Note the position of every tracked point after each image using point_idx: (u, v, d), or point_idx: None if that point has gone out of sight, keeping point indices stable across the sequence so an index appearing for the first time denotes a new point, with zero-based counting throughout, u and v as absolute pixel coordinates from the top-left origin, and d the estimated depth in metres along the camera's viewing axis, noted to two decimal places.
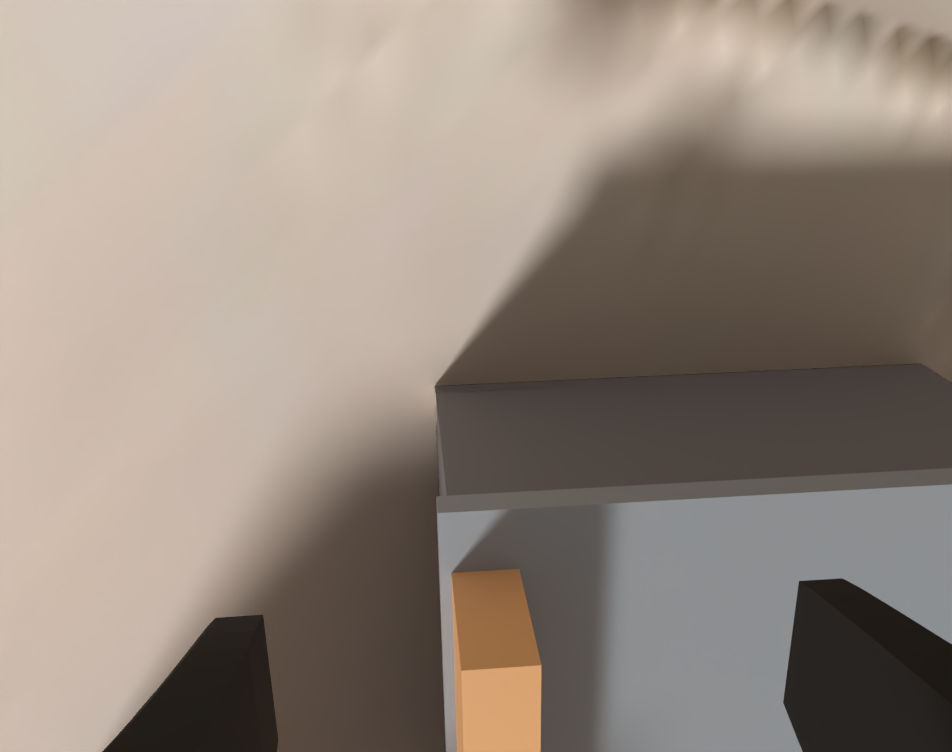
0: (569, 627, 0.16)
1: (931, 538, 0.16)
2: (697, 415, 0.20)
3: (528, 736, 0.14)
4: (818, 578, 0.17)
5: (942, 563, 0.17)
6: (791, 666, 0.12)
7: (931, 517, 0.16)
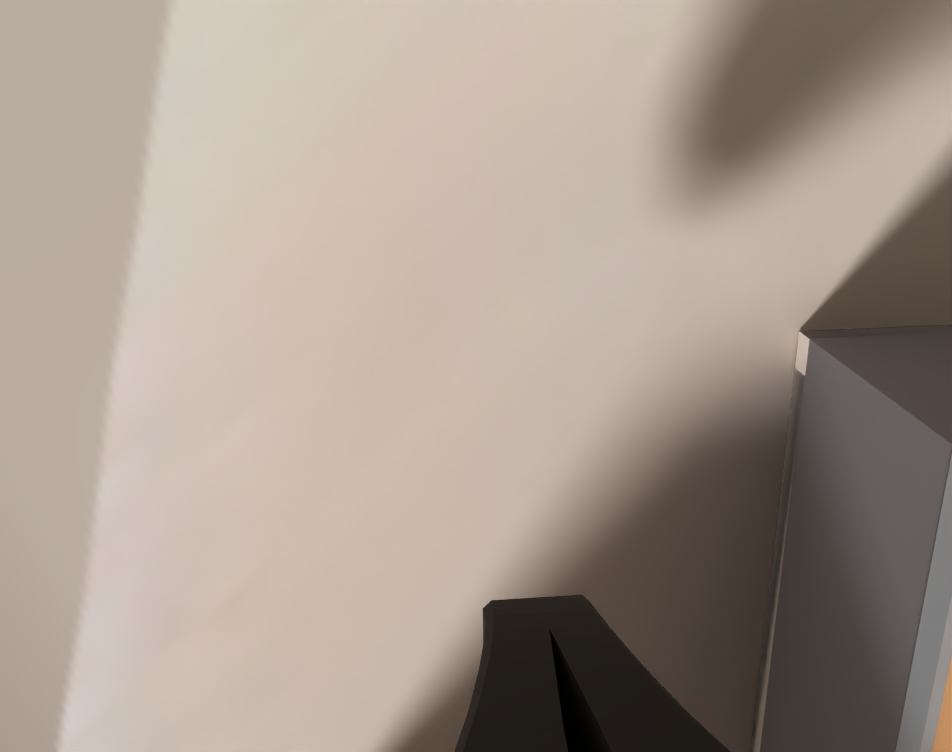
0: None
1: None
2: None
3: None
4: None
5: None
6: None
7: None
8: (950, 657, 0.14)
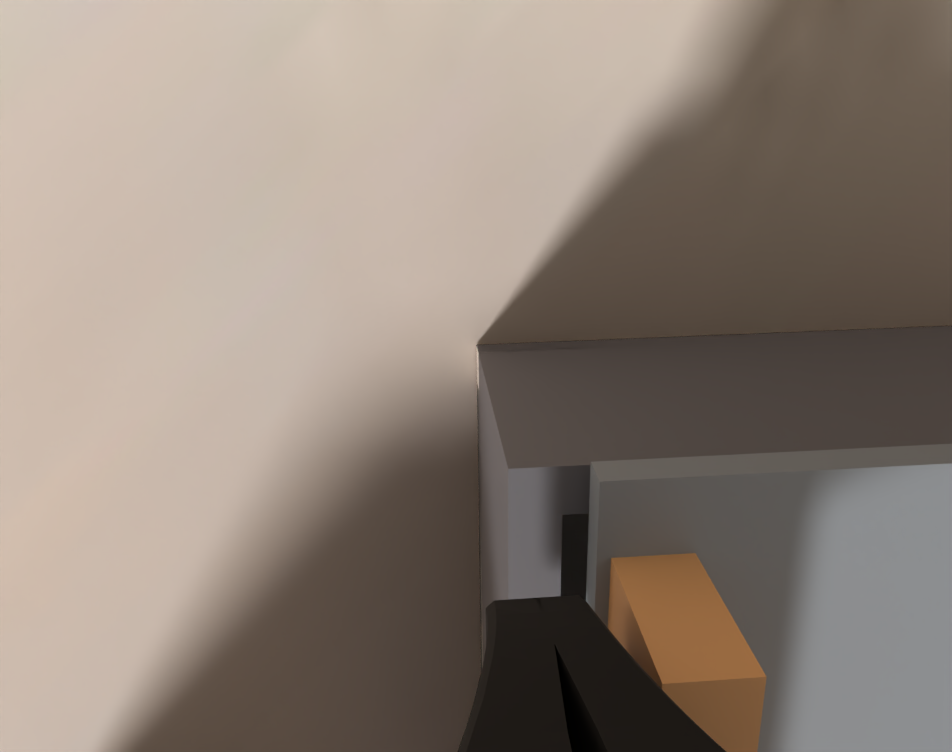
0: (750, 627, 0.13)
1: None
2: (798, 376, 0.16)
3: None
4: None
5: None
6: None
7: None
8: None
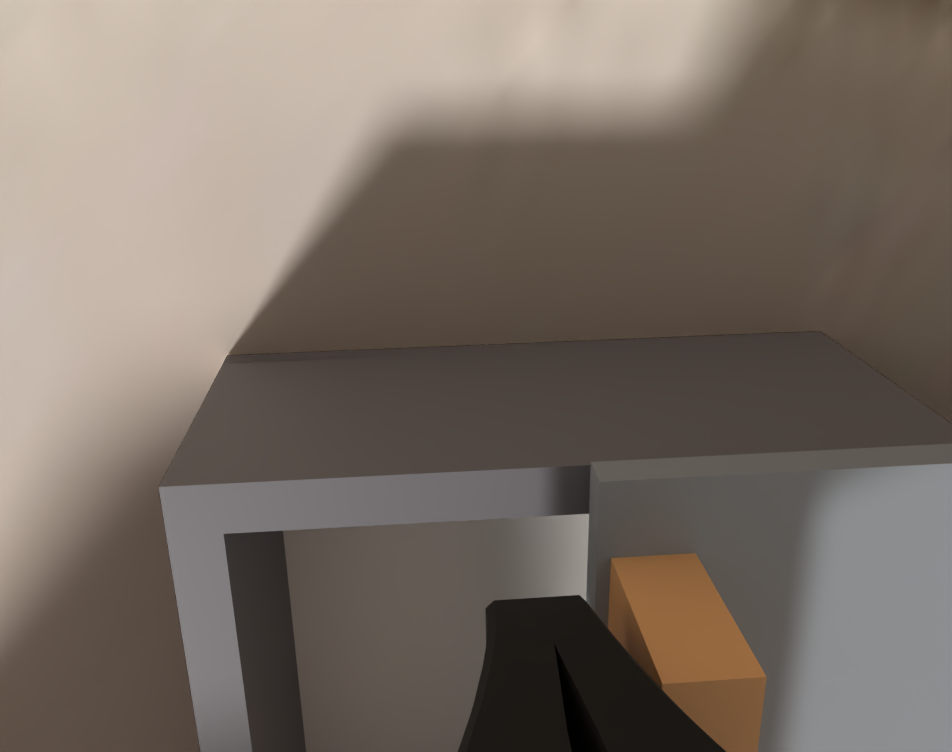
0: (750, 627, 0.13)
1: None
2: (527, 388, 0.16)
3: None
4: None
5: None
6: None
7: None
8: None
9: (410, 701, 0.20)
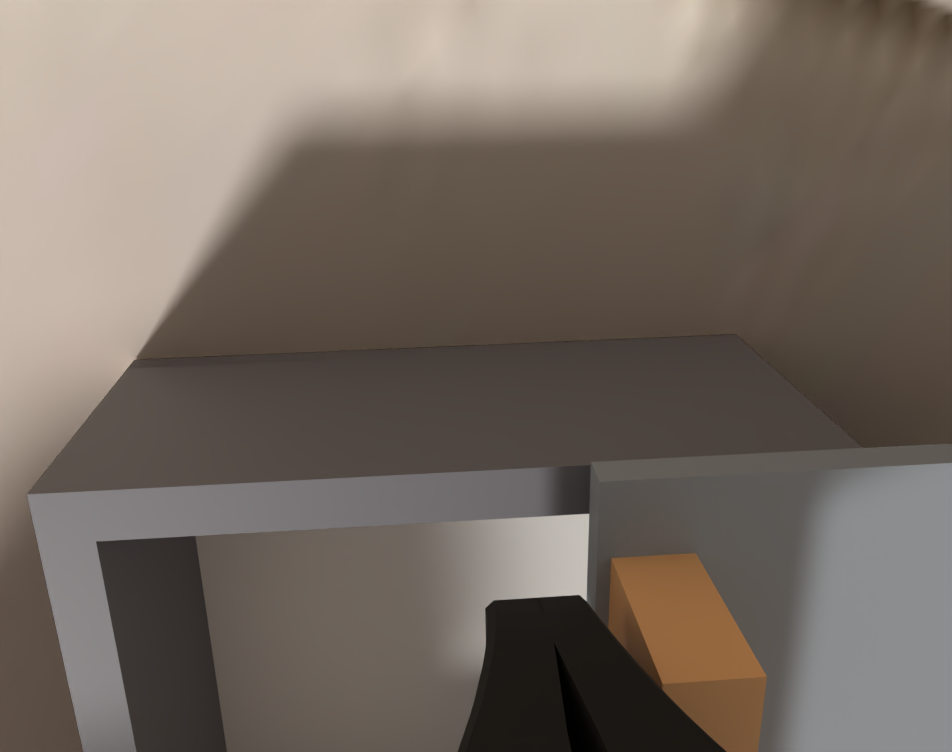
0: (750, 627, 0.13)
1: None
2: (425, 393, 0.16)
3: None
4: None
5: None
6: None
7: None
8: None
9: (331, 707, 0.20)
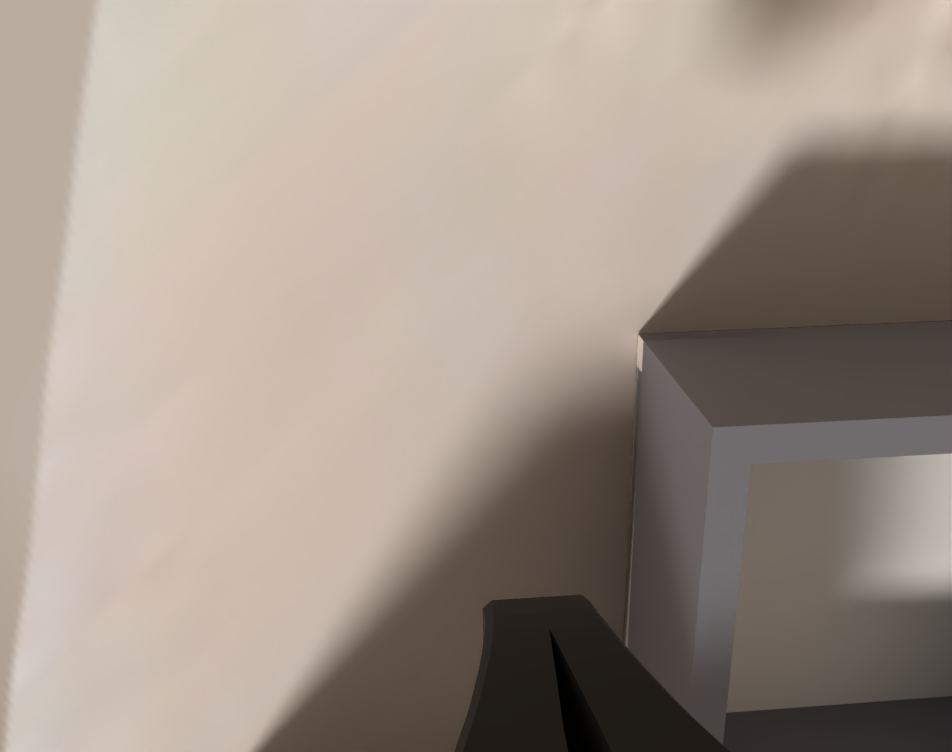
0: None
1: None
2: (916, 357, 0.20)
3: None
4: None
5: None
6: None
7: None
8: None
9: (746, 625, 0.24)
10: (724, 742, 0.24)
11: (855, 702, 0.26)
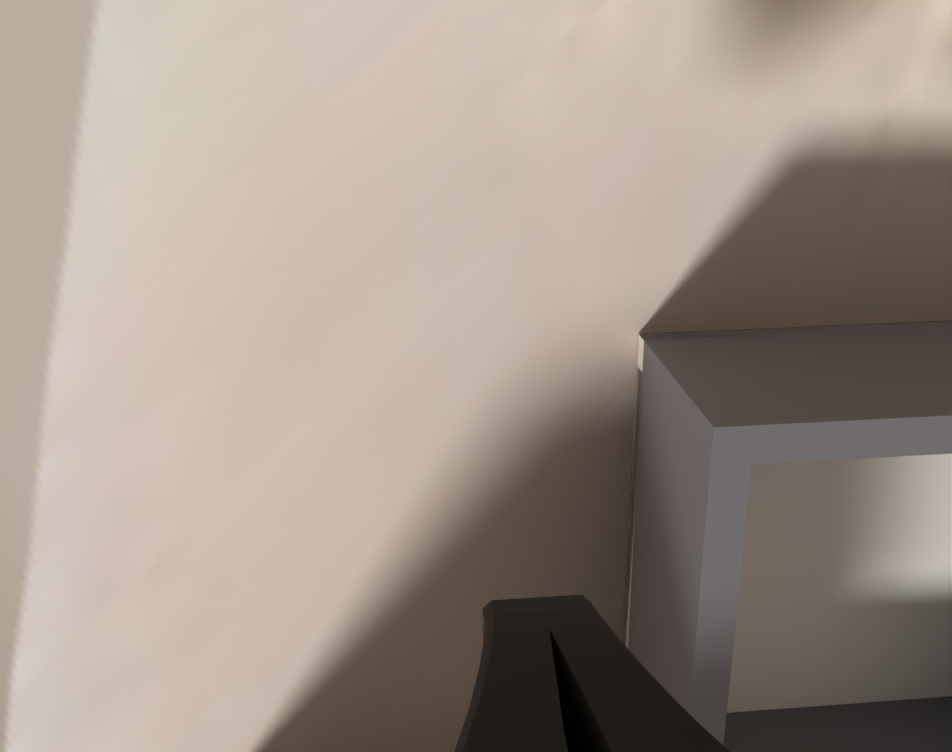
0: None
1: None
2: (917, 357, 0.20)
3: None
4: None
5: None
6: None
7: None
8: None
9: (746, 625, 0.24)
10: (724, 742, 0.24)
11: (855, 702, 0.26)
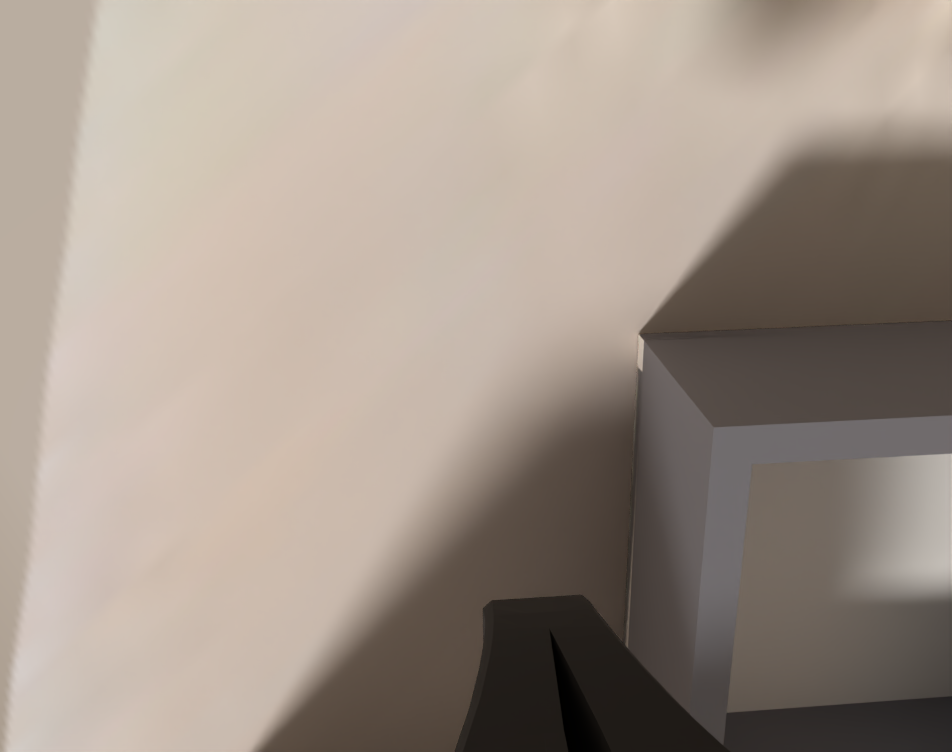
0: None
1: None
2: (917, 357, 0.20)
3: None
4: None
5: None
6: None
7: None
8: None
9: (746, 625, 0.24)
10: (724, 742, 0.24)
11: (855, 702, 0.26)
